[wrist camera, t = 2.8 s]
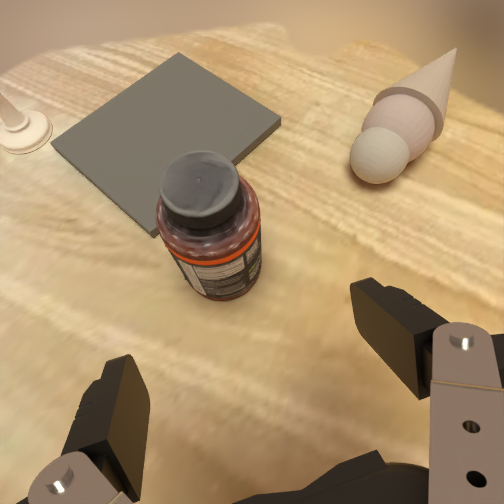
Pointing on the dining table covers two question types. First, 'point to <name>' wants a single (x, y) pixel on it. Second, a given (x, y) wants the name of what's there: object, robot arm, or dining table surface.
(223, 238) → the supplement bottle
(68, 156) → the mat
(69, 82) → the dining table surface
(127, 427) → the robot arm
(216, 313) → the dining table surface
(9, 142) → the chess piece
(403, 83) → the ice cream cone
